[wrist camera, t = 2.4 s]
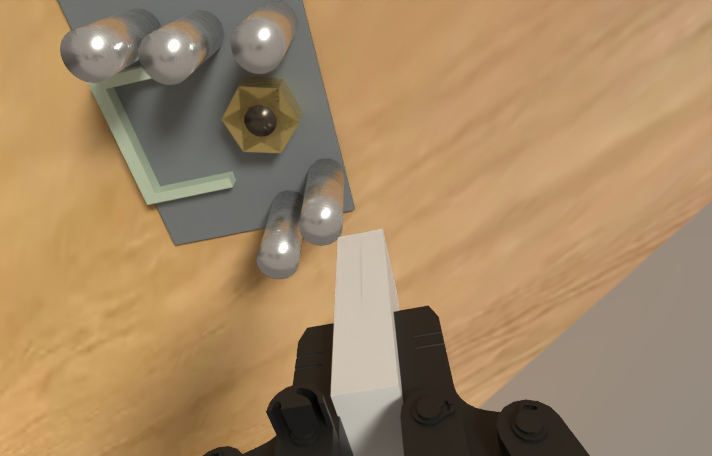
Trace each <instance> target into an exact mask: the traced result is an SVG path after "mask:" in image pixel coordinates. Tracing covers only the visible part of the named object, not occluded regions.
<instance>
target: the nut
mask: <svg viewBox="0 0 712 456" xmlns="http://www.w3.org/2000/svg"><path fill="white" fill-rule="evenodd" d="M301 115H302V110H301V108H300V106H299V104H298V103H297V101H296V99H295V98H294V96H293V94H292V93H291V91H290V89H289V87H288V86H287V84H286V82H285V81H284V79H281V78H258V77H245V78H244V80H243V81H242V82H241V84H240V85H239V87H238V89H237V90H236V92H235V94H234V96H233V98H232V100H231V102H230V104H229V106H228V108H227V110H226V112H225V114H224V116H223V117H222V121H223V122H224V124H225V125H226V127H227V128H228V130H229V131H230V133H231V134H232V136H233V137H234V139H235V140H236V142H237V143H238V145H239V146H240V148H241V149H242V150H243V152H263V153H281V152H282V151H283V149H284V147H285V146H286V144H287V142H288V141H289V139H290V137H291V136H292V134H293V132H294V131H295V129H296V128H297V126H298V124H299V122H300V119H301Z"/></svg>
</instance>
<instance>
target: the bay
mask: <svg viewBox="0 0 712 456" xmlns="http://www.w3.org/2000/svg"><path fill="white" fill-rule="evenodd" d="M146 79H151V77H150V76H149V75H148V74H147V73H146V72H145V71H144V69H143V68H142V66H141V65H140V66H136V67H132V68H127V69H123V70H121V71H120V72H118V73H116V74H115V75H113V76H111V77H110V78H108V79H107V80H105V81H103V82H99V83H90V82H87V83H88V85H89V87H90V89H91V91H92V93H93V95H94V97H95V99H96V101H97V103H98V105H99V107H100V109H101V111H102V113H103V115H104V117H105V119H106V121H107V123H108V126H109V128H110V130H111V132H112V134H113V136H114V138H115V140H116V142H117V144H118V146H119V148H120V150H121V152H122V154H123V156H124V158H125V160H126V162H127V164H128V166H129V168H130V171H131V173H132V175H133V177H134V179H135V181H136V183H137V185H138V187H139V189H140V191H141V193H142V195H143V197H144V199H145V201H146V203H147V205H149V204H154V203H159V202H164V201H169V200H174V199H178V198H183V197H188V196H193V195H198V194H203V193H207V192H212V191H217V190H222V189H227V188H231V187H233V186H234V184H235V182H236V179H235V176H234V174H233V171H232V172H227V173H222V174H217V175H213V176H208V177H203V178H198V179H194V180H189V181H184V182H180V183H175V184H170V185H165V186H161V187H160V185H159V183H158V181H157V179H156V176H155V174H154V172H153V170H152V168H151V166H150V164H149V161H148V159H147V157H146V155H145V153H144V151H143V148H142V146H141V144H140V142H139V140H138V138H137V136H136V133H135V131H134V129H133V127H132V125H131V123H130V120H129V118H128V116H127V114H126V112H125V110H124V108H123V105H122V103H121V101H120V99H119V97H118V95H117V92H116V90H115V88H114V87H117V86H121V85H125V84H129V83H134V82H138V81H142V80H146Z"/></svg>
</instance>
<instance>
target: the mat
mask: <svg viewBox="0 0 712 456" xmlns="http://www.w3.org/2000/svg"><path fill="white" fill-rule="evenodd" d="M268 1H271V0H58V2H59V4H60V6H61V8H62V10H63V12H64V14H65V16H66V18H67V20H68V22H69V25H70V27H71V29H72V30H75V29H77V28H80V27H83V26H86V25H88V24H91V23H94V22H97V21H99V20H102V19H105V18H108V17H110V16H113V15H116V14H119V13H121V12H124V11H127V10H130V9H133V8H141V9H144V10H147V11H149V12H150V13H152V14H153V15H154V16H155V17H156V18H157V20H158V21H159V23H160V25H161V27H163V26H165V25H167V24H169V23H171V22H173V21H175V20H177V19H179V18H181V17H183V16H185V15H187V14H189V13H190V12H192V11H195V10H205V11H208V12H210V13H212V14H213V15H215V16H216V17H217V18H218V20H219V21H220V22H221V24H222V27H223V30H224V40H223V43H222V45H221V47H220V48H219V49H218V50H217V51H216V52H215V53H214V54H213V55H212V56H210V57H209V58H208V59H207V60H206V61H205V62H204V63H203V64H202V65H200V66H199V67H198V68H197V69H196V70H195V71H194V72H193V73H192V74H190V75H189V76H188V77H187V78H186V79H185V80H184V81H182V82H180V83H178V84H174V85H165V84H162V83H159V82H157V81H155V80H153V79H152V78H151V79H146V80H142V81H138V82H134V83H129V84H125V85H121V86H117V87H114V88H115V90H116V92H117V95H118V97H119V99H120V101H121V103H122V105H123V108H124V110H125V112H126V114H127V116H128V118H129V120H130V123H131V125H132V127H133V129H134V131H135V133H136V136H137V138H138V140H139V142H140V144H141V146H142V148H143V151H144V153H145V155H146V157H147V159H148V161H149V164H150V166H151V168H152V170H153V172H154V174H155V176H156V179H157V181H158V183H159V185H160V187H161V186H165V185H170V184H175V183H180V182H184V181H189V180H194V179H198V178H203V177H208V176H213V175H217V174H222V173H227V172H232V171H233V174H234V176H235V179H236V182H235V184H234V186H233V187H231V188H227V189H222V190H217V191H212V192H207V193H203V194H198V195H193V196H188V197H183V198H178V199H174V200H169V201H164V202H159V203H155V204H156V206H157V208H158V210H159V212H160V214H161V216H162V219H163V221H164V223H165V225H166V227H167V229H168V231H169V233H170V235H171V237H172V239H173V241H174V244H175V245H179V244H184V243H189V242H194V241H199V240H205V239H210V238H215V237H220V236H225V235H230V234H235V233H240V232H245V231H250V230H255V229H260V228H265V227H266V224H267V221H268V217H269V214H270V211H271V207H272V204H273V200H274V198H275V197H276V195H277V194H279V193H280V192H282V191H287V190H292V191H296V192H298V193H300V194H301V195H302V196H303V197H304V194H305V188H306V183H307V177H308V172H309V168H310V166H311V165H312V164H313V163H314V162H315V161H317V160H319V159H324V158H327V159H332V160H334V161H336V162H338V163H339V164H340V165H341V167H342V168H343V171H344V195H343V212H347V211H352V210H355V207H354V203H353V199H352V195H351V191H350V187H349V183H348V179H347V175H346V171H345V167H344V163H343V159H342V155H341V151H340V147H339V143H338V140H337V136H336V132H335V128H334V124H333V120H332V116H331V112H330V108H329V104H328V100H327V96H326V92H325V88H324V84H323V80H322V76H321V72H320V68H319V64H318V60H317V56H316V52H315V48H314V44H313V40H312V36H311V33H310V29H309V25H308V21H307V17H306V13H305V9H304V5H303V1H302V0H279V1H282V2H285V3H286V4H288V5H289V6H290V7H291V8H292V9H293V11H294V12H295V14H296V17H297V21H298V27H297V32H296V34H295V36H294V38H293V40H292V42H291V43H290V45H289V47H288V49H287V51H286V53H285V55H284V56H283V58H282V60H281V62H280V63H279V65H278V66H277V67H276V68H275V69H274V70H272V71H270V72H268V73H264V74H255V73H251V72H249V71H247V70H245V69H244V68H242V67H241V66H240V65H239V64H238V63H237V61H236V60H235V58H234V56H233V54H232V50H231V37H232V34H233V32H234V30H235V29H236V27H237V26H238V25H239V24H240V23H242V22H243V21H244V20H245V19H246V18H247V17H249V16H250V15H251V14H252V13H253V12H255V11H256V10H257V9H258V8H259V7H260V6H262V5H263V4H264V3H266V2H268ZM140 65H141V63H140V60H138V61H136V62H134V63H133V64H131V65H129V66H128V67H126V68H124V69H127V68H132V67H136V66H140ZM245 77H258V78H281V79H284V81H285V82H286V84H287V86H288V87H289V89H290V91H291V93H292V94H293V96H294V98H295V99H296V101H297V103H298V104H299V106H300V108H301V110H302V115H301V119H300V122H299V124H298V126H297V128H296V129H295V131H294V132H293V134H292V136H291V137H290V139H289V141H288V142H287V144H286V146H285V147H284V149H283V151H282V152H281V153H263V152H243V150H242V149H241V148H240V146H239V145H238V143H237V142H236V140H235V139H234V137H233V136H232V134H231V133H230V131H229V130H228V128H227V127H226V125H225V124H224V122H223V121H222V117H223V116H224V114H225V112H226V110H227V108H228V106H229V104H230V102H231V100H232V98H233V96H234V94H235V92H236V90H237V89H238V87H239V85H240V84H241V82H242V81H243V80H244V78H245Z"/></svg>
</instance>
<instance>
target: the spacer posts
mask: <svg viewBox="0 0 712 456" xmlns="http://www.w3.org/2000/svg"><path fill="white" fill-rule="evenodd" d="M297 27H298V21H297V17H296V14H295V12H294V11H293V9H292V8H291V7H290V6H289V5H288V4H286V3H285V2H282V1H279V0H271V1H268V2H266V3H264V4H263V5H262V6H260V7H259V8H258V9H257V10H256V11H255V12H253V13H252V14H251V15H250V16H249V17H247V18H246V19H245V20H244V21H243V22H242V23H240V24H239V25H238V26H237V27H236V29H235V30H234V32H233V34H232V37H231V50H232V54H233V56H234V58H235V60H236V61H237V63H238V64H239V65H240V66H241V67H242V68H244V69H245V70H247V71H249V72H251V73H255V74H264V73H268V72H270V71H272V70H274V69H275V68H276V67H277V66H278V65H279V63H280V62H281V60H282V58H283V56H284V55H285V53H286V51H287V49H288V47H289V45H290V43H291V42H292V40H293V38H294V36H295V34H296V32H297ZM223 40H224V30H223V27H222V24H221V22H220V21H219V20H218V18H217V17H216V16H215V15H213V14H212V13H210V12H208V11H205V10H195V11H192V12H190V13H189V14H187V15H185V16H183V17H181V18H179V19H177V20H175V21H173V22H171V23H169V24H167V25H165V26H163V27H161V25H160V23H159V21H158V20H157V18H156V17H155V16H154V15H153V14H152V13H150V12H149V11H147V10H144V9H141V8H133V9H130V10H127V11H124V12H121V13H119V14H116V15H113V16H110V17H108V18H105V19H102V20H99V21H97V22H94V23H91V24H88V25H86V26H83V27H80V28H77V29H75V30H72V31H70V32H68V33H67V34H66V35H65V36H64V37H63V39H62V42H61V46H60V52H61V57H62V60H63V62H64V64H65V66H66V67H67V68H68V70H69V71H70V72H71V73H72V74H73V75H75V76H76V77H77V78H79V79H81V80H83V81H86V82H90V83H99V82H103V81H105V80H107V79H108V78H110V77H111V76H113V75H115V74H116V73H118V72H120V71H121V70H123V69H124V68H126V67H128V66H129V65H131V64H133V63H134V62H136V61H138V60H140V63H141V66H142V68H143V69H144V71H145V72H146V73H147V74H148V75H149V76H150V77H151V78H152V79H153V80H155V81H157V82H159V83H162V84H165V85H174V84H178V83H180V82H182V81H184V80H185V79H186V78H187V77H188V76H189V75H190V74H192V73H193V72H194V71H195V70H196V69H197V68H198V67H199V66H200V65H202V64H203V63H204V62H205V61H206V60H207V59H208V58H209V57H210V56H212V55H213V54H214V53H215V52H216V51H217V50H218V49H219V48H220V47H221V45H222V43H223ZM343 195H344V171H343V168H342V167H341V165H340V164H339V163H338V162H336V161H334V160H332V159H327V158H324V159H319V160H317V161H315V162H314V163H313V164H312V165H311V166H310V168H309V172H308V177H307V183H306V188H305V194H304V197H303V196H302V195H301V194H300V193H298V192H296V191H292V190H287V191H282V192H280V193H279V194H277V195H276V197H275V198H274V200H273V204H272V207H271V211H270V214H269V217H268V221H267V224H266V228H265V231H264V235H263V238H262V242H261V245H260V248H259V252H258V255H257V266H258V268H259V269H260V271H261V272H262V273H263V274H265V275H266V276H268V277H270V278H274V279H284V278H288V277H290V276H291V275H293V274H294V273H295V272H296V270H297V268H298V264H299V258H300V252H301V245H302V239H303V238H304V239H305V240H306V241H308V242H309V243H311V244H314V245H320V246H323V245H329V244H331V243H333V242H335V241H336V240H337V239H338V237H340V235H341V233H342V226H343Z"/></svg>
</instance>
